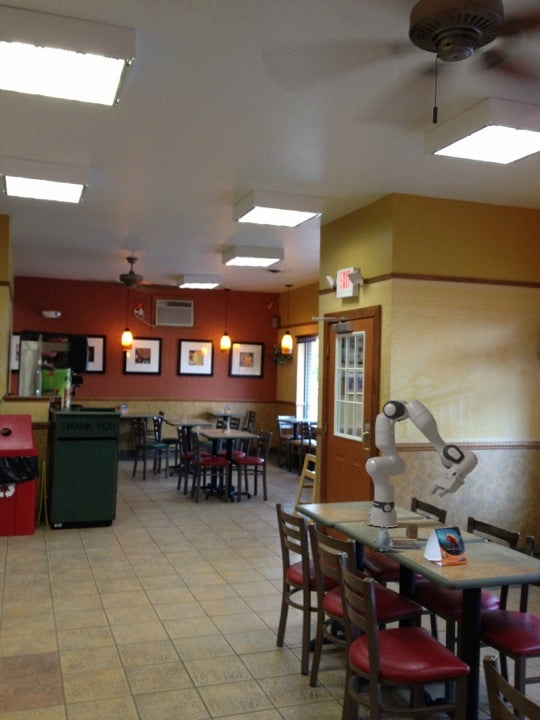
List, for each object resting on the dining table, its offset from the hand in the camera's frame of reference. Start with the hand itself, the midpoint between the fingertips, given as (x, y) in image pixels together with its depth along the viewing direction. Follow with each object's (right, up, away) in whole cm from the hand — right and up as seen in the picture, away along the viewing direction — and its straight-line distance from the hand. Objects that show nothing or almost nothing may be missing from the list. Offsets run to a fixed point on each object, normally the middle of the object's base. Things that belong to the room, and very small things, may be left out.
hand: (435, 494), depth 347 cm
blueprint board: (-22, -22, -17) cm, 35 cm away
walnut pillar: (-13, -23, -3) cm, 27 cm away
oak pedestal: (-23, -22, -18) cm, 36 cm away
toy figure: (-33, -21, -31) cm, 50 cm away
